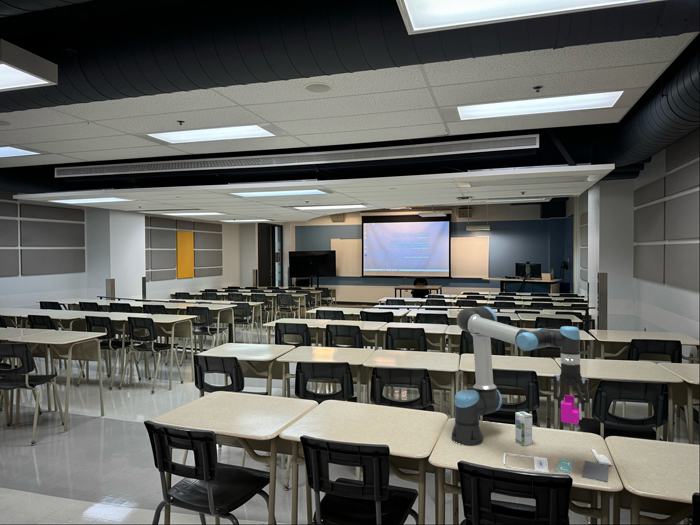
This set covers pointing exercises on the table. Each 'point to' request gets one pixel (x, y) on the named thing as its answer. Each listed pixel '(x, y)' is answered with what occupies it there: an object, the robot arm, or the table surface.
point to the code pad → (565, 466)
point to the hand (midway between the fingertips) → (571, 417)
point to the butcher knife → (601, 458)
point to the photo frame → (539, 463)
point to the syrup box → (523, 428)
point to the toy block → (569, 410)
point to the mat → (595, 471)
